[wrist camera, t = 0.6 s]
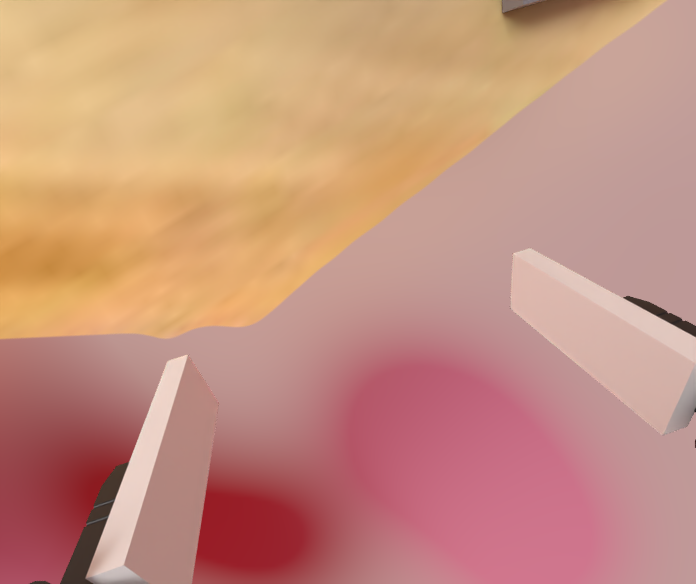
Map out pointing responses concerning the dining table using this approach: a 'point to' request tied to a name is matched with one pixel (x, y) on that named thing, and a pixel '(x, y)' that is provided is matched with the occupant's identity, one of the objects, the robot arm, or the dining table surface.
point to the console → (517, 4)
